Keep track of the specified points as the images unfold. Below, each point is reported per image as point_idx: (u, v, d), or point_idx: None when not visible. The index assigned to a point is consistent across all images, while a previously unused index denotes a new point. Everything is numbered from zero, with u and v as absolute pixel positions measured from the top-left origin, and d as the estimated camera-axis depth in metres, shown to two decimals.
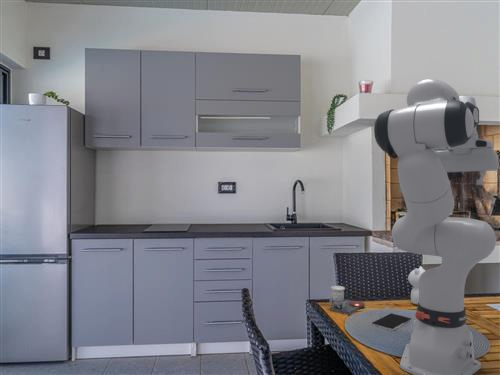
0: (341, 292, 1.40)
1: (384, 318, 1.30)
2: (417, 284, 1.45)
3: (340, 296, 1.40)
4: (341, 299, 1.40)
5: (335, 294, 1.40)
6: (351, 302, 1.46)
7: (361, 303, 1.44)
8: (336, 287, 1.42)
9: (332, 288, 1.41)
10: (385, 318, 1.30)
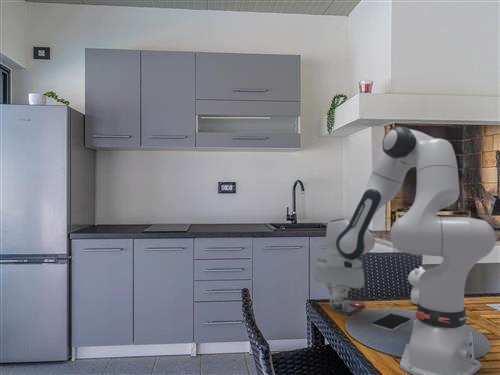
0: (341, 292, 1.40)
1: (384, 318, 1.29)
2: (417, 284, 1.45)
3: (340, 296, 1.39)
4: (341, 299, 1.40)
5: (335, 294, 1.40)
6: (351, 302, 1.46)
7: (361, 303, 1.44)
8: (336, 287, 1.42)
9: (332, 288, 1.41)
10: (385, 318, 1.29)
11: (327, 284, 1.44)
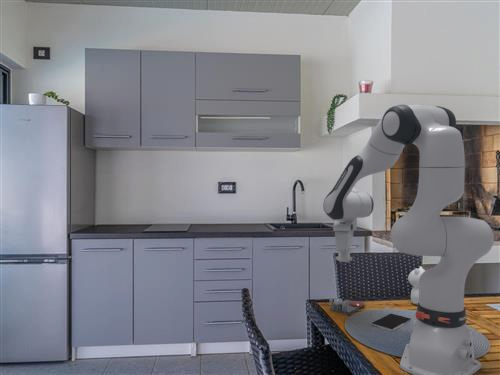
0: None
1: (384, 318, 1.29)
2: (417, 284, 1.45)
3: (341, 257, 1.42)
4: None
5: (338, 254, 1.44)
6: (351, 302, 1.46)
7: (361, 303, 1.44)
8: None
9: None
10: (385, 318, 1.29)
11: None
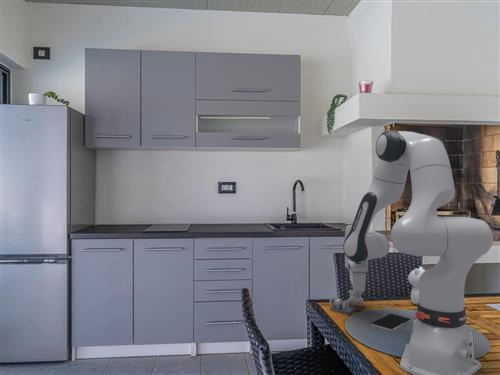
0: (355, 296, 1.43)
1: (383, 318, 1.29)
2: (417, 284, 1.45)
3: (354, 300, 1.43)
4: (355, 303, 1.43)
5: (350, 297, 1.45)
6: None
7: (361, 303, 1.44)
8: (354, 291, 1.46)
9: None
10: (384, 318, 1.29)
11: None
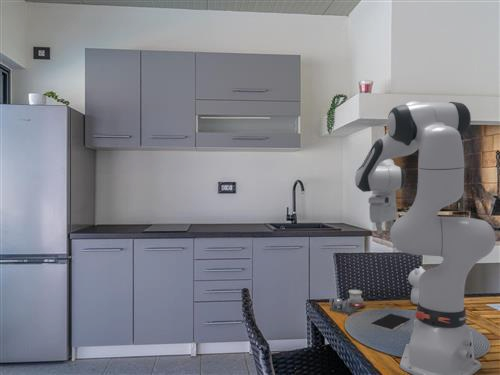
0: (355, 296, 1.43)
1: (383, 318, 1.29)
2: (417, 284, 1.45)
3: (354, 300, 1.43)
4: (355, 303, 1.43)
5: (350, 297, 1.45)
6: None
7: (361, 303, 1.44)
8: (353, 291, 1.46)
9: None
10: (384, 318, 1.29)
11: None
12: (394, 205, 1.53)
